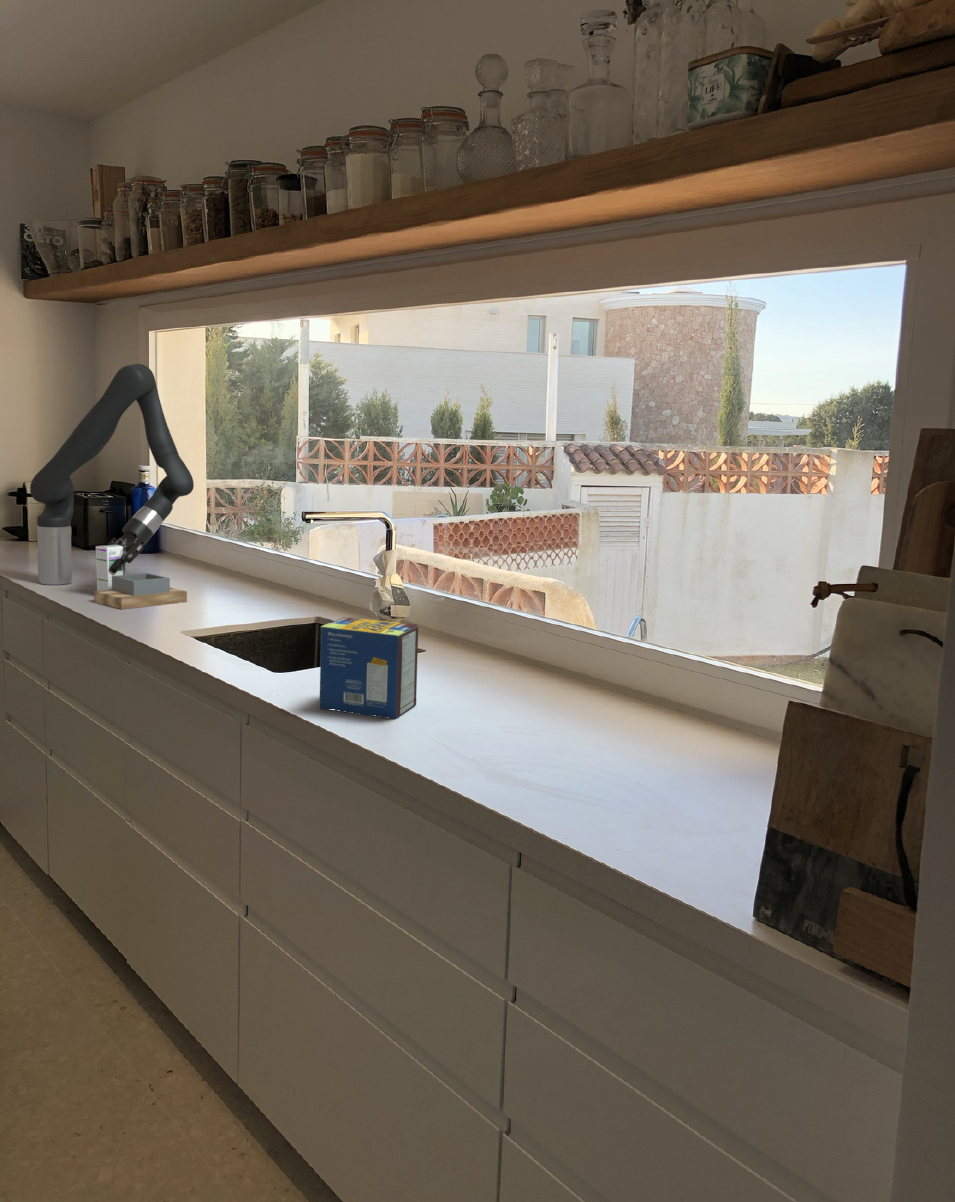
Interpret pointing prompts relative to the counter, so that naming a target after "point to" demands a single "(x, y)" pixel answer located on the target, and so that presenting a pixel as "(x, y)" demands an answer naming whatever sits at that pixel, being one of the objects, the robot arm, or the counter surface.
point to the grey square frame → (140, 584)
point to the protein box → (368, 667)
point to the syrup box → (107, 565)
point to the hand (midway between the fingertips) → (105, 569)
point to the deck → (138, 598)
